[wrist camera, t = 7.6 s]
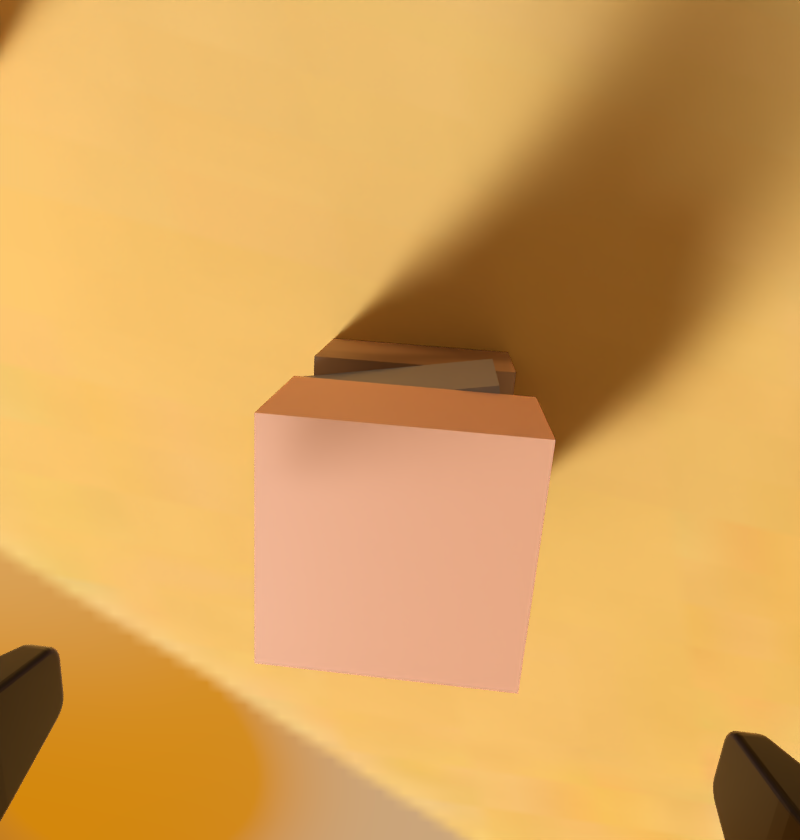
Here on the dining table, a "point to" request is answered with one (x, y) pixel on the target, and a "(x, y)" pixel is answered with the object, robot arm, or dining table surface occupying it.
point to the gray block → (431, 376)
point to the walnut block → (405, 358)
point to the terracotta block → (398, 530)
